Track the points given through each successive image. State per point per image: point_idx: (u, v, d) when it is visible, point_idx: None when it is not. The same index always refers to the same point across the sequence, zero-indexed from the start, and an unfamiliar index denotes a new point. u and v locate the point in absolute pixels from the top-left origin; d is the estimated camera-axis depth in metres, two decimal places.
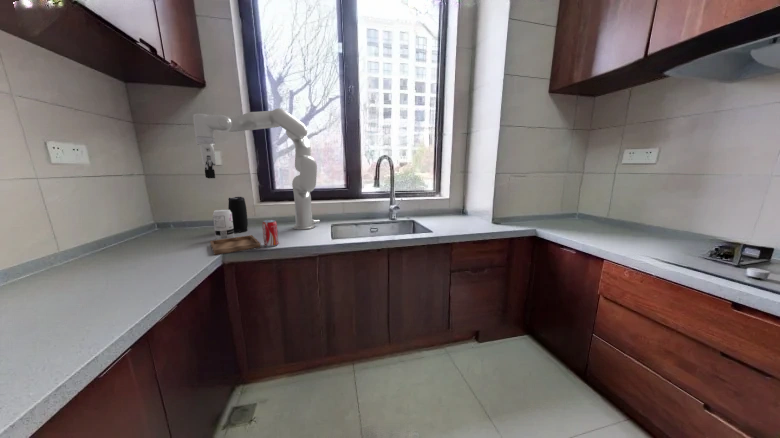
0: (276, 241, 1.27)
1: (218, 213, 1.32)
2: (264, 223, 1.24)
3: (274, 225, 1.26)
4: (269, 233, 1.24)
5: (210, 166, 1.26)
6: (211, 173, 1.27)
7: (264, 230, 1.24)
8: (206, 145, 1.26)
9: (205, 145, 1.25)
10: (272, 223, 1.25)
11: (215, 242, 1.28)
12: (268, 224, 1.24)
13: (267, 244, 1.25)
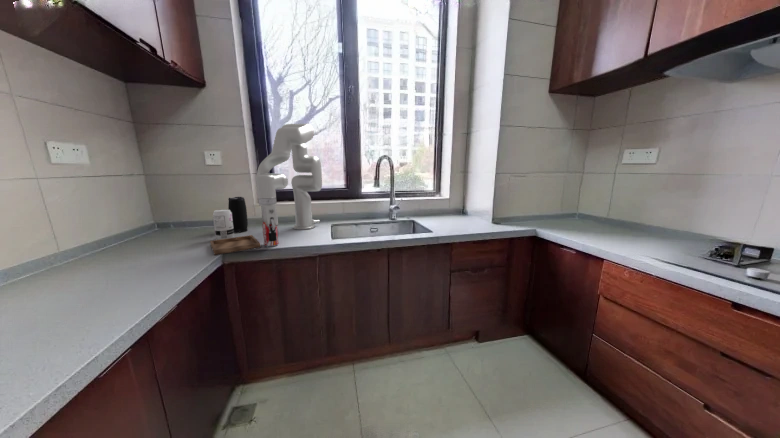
0: (276, 241, 1.27)
1: (218, 213, 1.32)
2: (264, 223, 1.24)
3: None
4: None
5: (273, 230, 1.23)
6: (273, 236, 1.25)
7: (264, 230, 1.24)
8: (269, 206, 1.22)
9: (269, 207, 1.21)
10: None
11: (215, 242, 1.28)
12: None
13: (267, 244, 1.25)
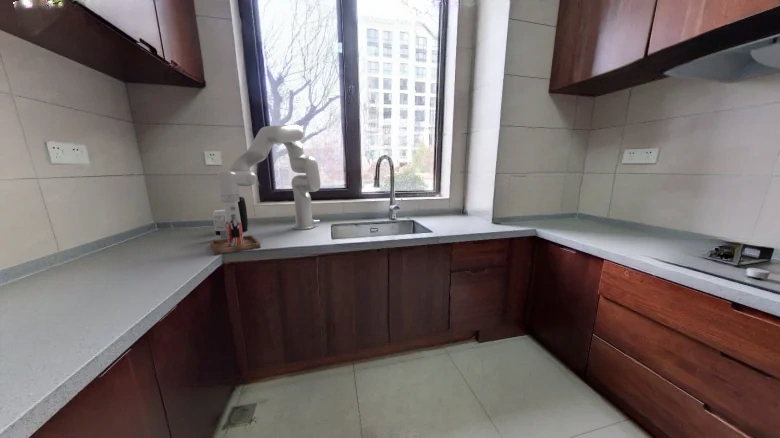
0: (240, 241, 1.25)
1: (218, 213, 1.32)
2: (227, 223, 1.21)
3: (238, 225, 1.23)
4: None
5: (235, 226, 1.19)
6: (236, 232, 1.21)
7: (227, 230, 1.22)
8: (231, 203, 1.19)
9: (230, 204, 1.19)
10: None
11: (215, 242, 1.28)
12: None
13: (231, 244, 1.23)
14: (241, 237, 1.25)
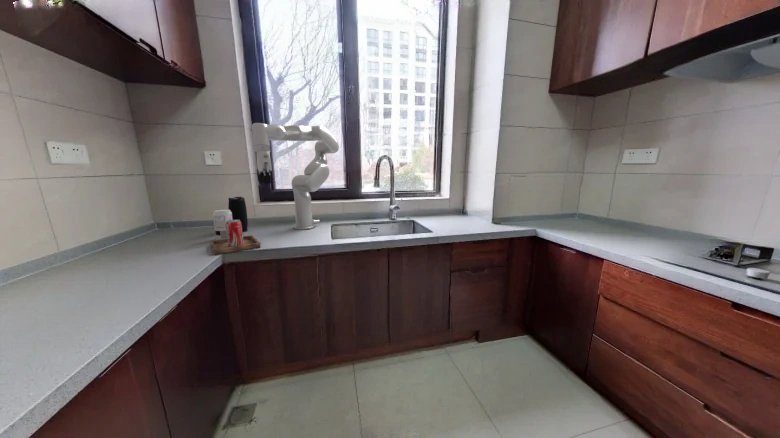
0: (240, 241, 1.25)
1: (218, 213, 1.32)
2: (227, 223, 1.21)
3: (238, 225, 1.23)
4: (232, 233, 1.22)
5: (268, 172, 1.34)
6: (268, 179, 1.35)
7: (227, 230, 1.22)
8: (264, 152, 1.34)
9: (263, 152, 1.34)
10: (235, 222, 1.22)
11: (215, 242, 1.28)
12: (231, 224, 1.21)
13: (231, 244, 1.23)
14: (241, 237, 1.25)
